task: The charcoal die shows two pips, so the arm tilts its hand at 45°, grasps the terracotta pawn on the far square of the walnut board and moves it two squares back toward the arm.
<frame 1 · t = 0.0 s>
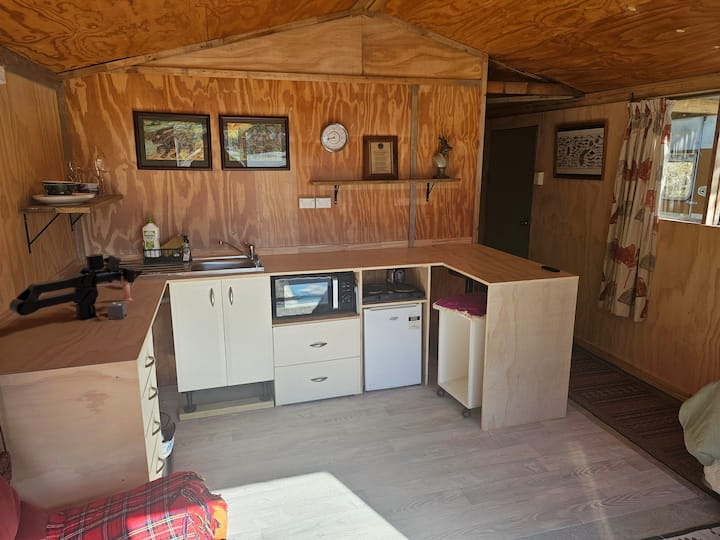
hand: (136, 270, 236), 17 cm above the countertop, fingers open, 9 cm apart
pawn: (127, 300, 241), point 1 cm above the countertop, touching game board
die: (117, 317, 220), on the countertop
bull figurine: (126, 287, 271), on the countertop
game board: (121, 305, 238), on the countertop
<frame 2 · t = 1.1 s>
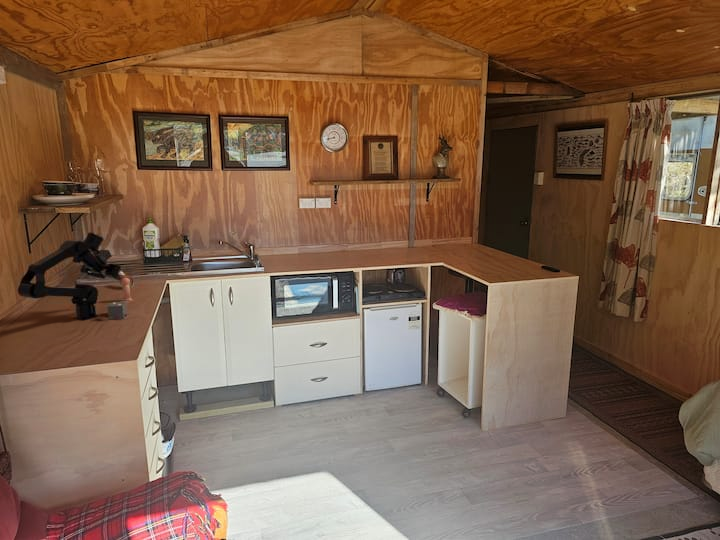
hand: (112, 278, 231), 14 cm above the countertop, fingers open, 9 cm apart
nothing on the countertop moved.
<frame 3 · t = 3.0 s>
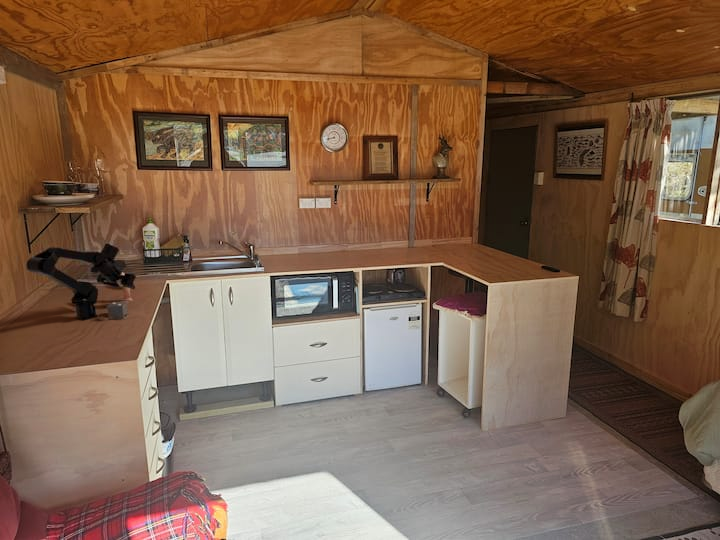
hand: (126, 287, 240), 8 cm above the countertop, fingers open, 9 cm apart
nothing on the countertop moved.
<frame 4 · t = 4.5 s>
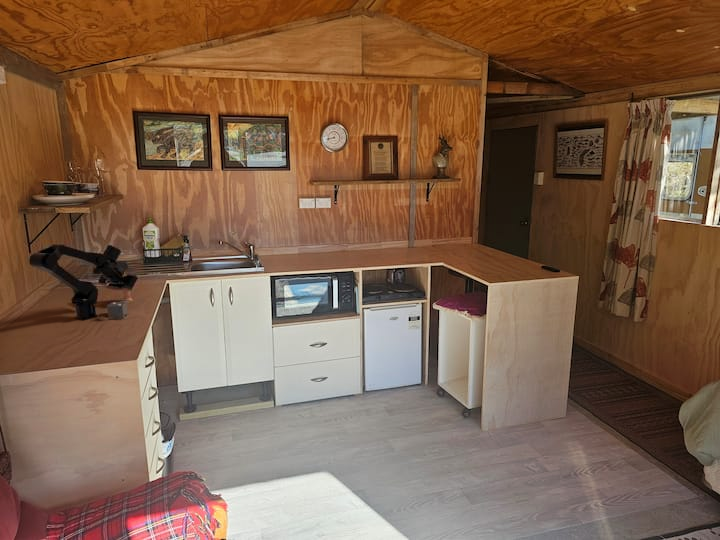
hand: (128, 289, 242), 7 cm above the countertop, fingers closed on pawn, 3 cm apart
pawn: (127, 300, 241), point 1 cm above the countertop, touching game board, gripper
everything else where it was.
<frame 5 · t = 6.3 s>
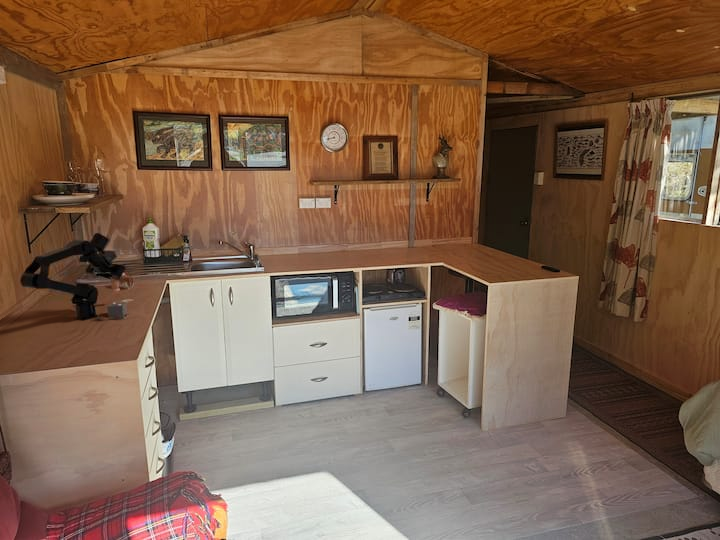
hand: (116, 279, 234), 13 cm above the countertop, fingers closed on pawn, 3 cm apart
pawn: (115, 291, 234), point 8 cm above the countertop, touching gripper
everything else where it was.
when the fingers open (8 cm above the countertop, at t = 8.4 s): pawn drops 1 cm, resting on game board.
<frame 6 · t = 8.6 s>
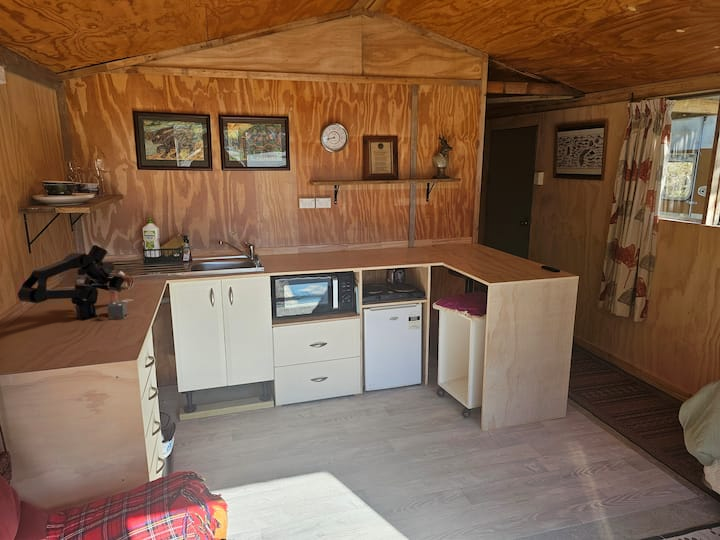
hand: (115, 290, 234), 8 cm above the countertop, fingers open, 6 cm apart
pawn: (114, 304, 234), point 1 cm above the countertop, touching game board
everything else where it was.
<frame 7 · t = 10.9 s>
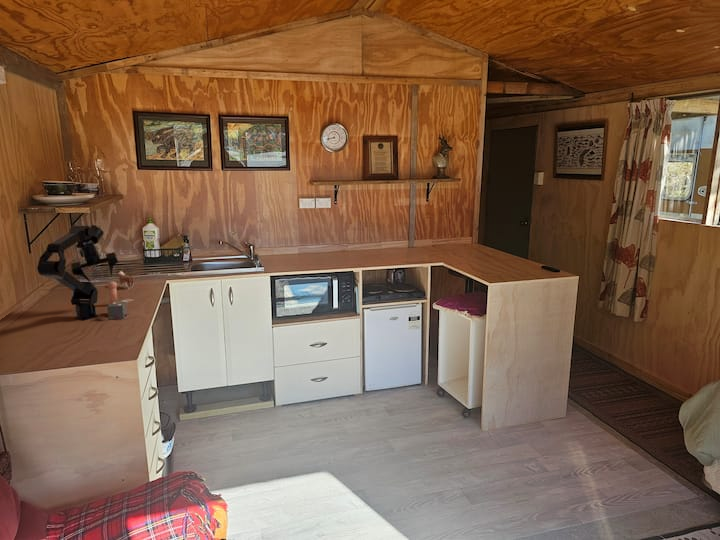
hand: (100, 277, 231), 14 cm above the countertop, fingers open, 9 cm apart
nothing on the countertop moved.
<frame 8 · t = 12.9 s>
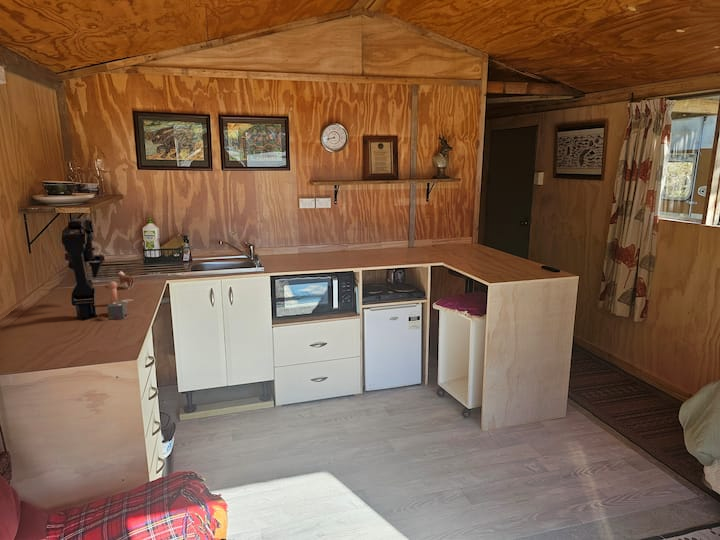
hand: (88, 279, 232), 13 cm above the countertop, fingers open, 9 cm apart
nothing on the countertop moved.
at the end: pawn 0.1 cm from the target spot, point 1.4 cm above the countertop; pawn tilted 1°; the gripper is holding nothing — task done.
